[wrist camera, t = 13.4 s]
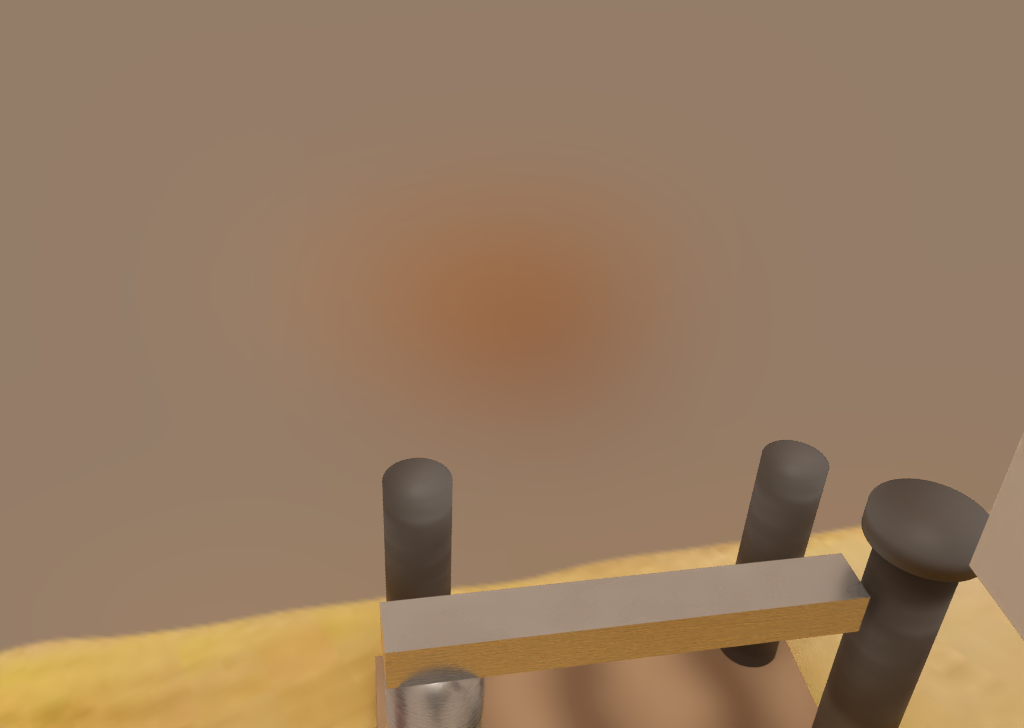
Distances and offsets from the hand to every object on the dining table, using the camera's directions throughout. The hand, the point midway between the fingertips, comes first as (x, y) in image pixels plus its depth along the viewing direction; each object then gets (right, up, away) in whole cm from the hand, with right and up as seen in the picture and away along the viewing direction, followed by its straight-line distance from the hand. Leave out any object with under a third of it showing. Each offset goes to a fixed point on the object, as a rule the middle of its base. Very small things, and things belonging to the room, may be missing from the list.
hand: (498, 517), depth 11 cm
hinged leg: (+3, -17, +26) cm, 31 cm away
